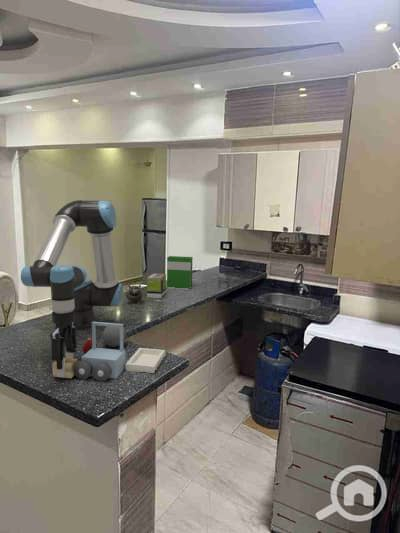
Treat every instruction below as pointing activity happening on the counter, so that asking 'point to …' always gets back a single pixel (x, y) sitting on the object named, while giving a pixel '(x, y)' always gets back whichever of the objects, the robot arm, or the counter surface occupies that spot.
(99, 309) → the counter surface
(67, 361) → the block
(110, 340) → the decorative ball
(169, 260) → the hardback book
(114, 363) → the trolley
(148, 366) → the tray
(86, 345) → the red rounded piece
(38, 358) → the counter surface
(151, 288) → the tea box
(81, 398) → the counter surface
